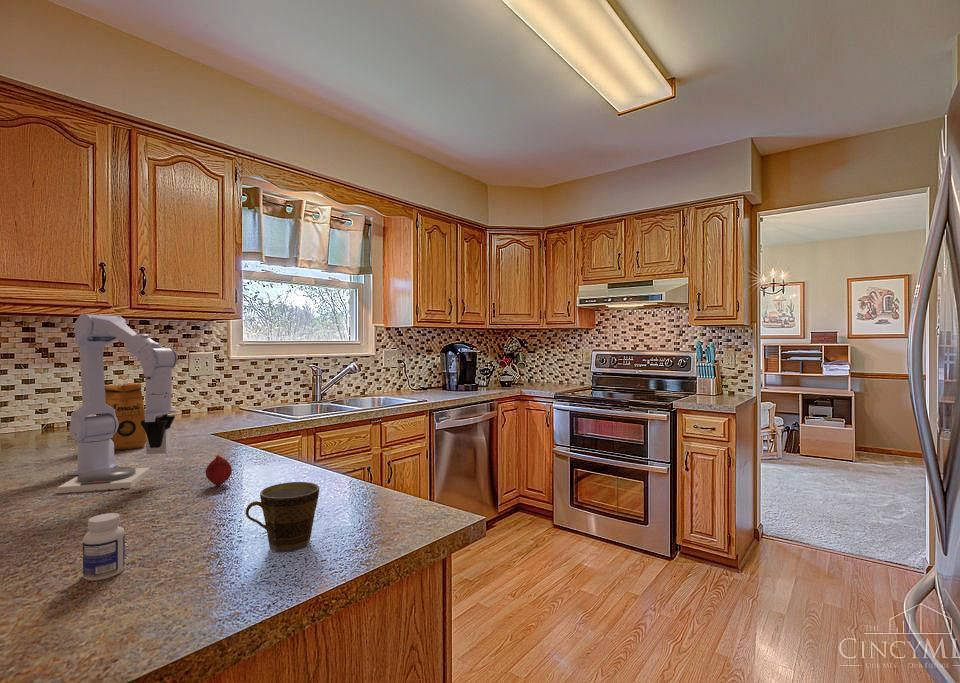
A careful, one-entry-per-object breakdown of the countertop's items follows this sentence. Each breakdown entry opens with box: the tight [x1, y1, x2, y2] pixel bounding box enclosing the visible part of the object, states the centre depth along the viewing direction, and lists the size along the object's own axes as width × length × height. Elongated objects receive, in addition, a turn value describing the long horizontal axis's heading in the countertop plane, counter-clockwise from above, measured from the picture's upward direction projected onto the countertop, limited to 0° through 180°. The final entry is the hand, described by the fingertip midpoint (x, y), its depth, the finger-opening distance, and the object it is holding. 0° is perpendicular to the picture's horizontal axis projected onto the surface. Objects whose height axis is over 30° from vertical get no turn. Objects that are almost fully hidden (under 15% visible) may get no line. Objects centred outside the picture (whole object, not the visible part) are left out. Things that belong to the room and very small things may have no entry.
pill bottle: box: [82, 512, 126, 582], centre depth 78 cm, size 5×5×9 cm
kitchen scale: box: [57, 466, 151, 494], centre depth 127 cm, size 15×15×2 cm
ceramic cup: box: [245, 481, 320, 553], centre depth 87 cm, size 13×10×10 cm
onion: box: [205, 453, 233, 487], centre depth 125 cm, size 6×6×8 cm
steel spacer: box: [145, 426, 172, 455], centre depth 129 cm, size 4×4×6 cm
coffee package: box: [105, 383, 146, 451], centre depth 168 cm, size 10×12×22 cm
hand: (158, 445), depth 129 cm, fingers closed on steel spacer, 4 cm apart
